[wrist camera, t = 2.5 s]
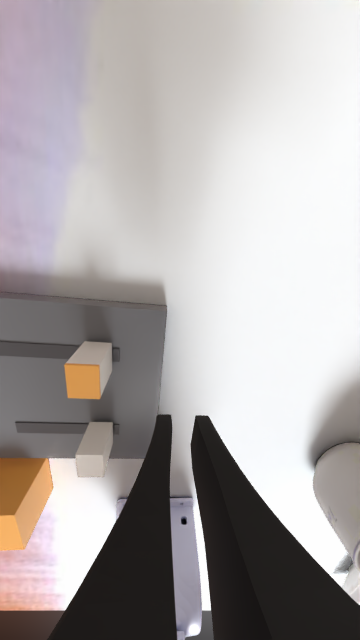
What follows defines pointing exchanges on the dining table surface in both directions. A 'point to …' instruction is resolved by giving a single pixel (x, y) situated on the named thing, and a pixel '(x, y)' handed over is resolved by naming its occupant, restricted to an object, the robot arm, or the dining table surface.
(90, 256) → the dining table surface
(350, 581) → the tray
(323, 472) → the teacup
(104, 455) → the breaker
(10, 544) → the cap
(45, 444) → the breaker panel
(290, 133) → the dining table surface
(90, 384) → the block
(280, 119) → the dining table surface
